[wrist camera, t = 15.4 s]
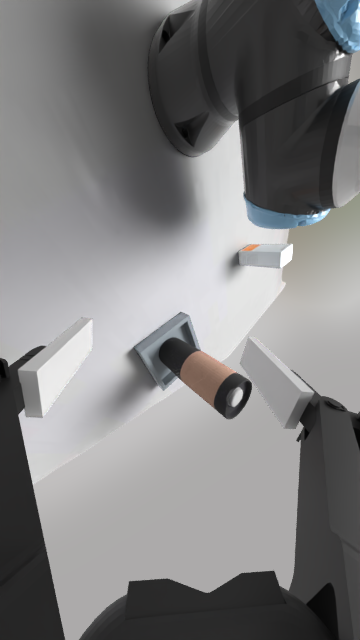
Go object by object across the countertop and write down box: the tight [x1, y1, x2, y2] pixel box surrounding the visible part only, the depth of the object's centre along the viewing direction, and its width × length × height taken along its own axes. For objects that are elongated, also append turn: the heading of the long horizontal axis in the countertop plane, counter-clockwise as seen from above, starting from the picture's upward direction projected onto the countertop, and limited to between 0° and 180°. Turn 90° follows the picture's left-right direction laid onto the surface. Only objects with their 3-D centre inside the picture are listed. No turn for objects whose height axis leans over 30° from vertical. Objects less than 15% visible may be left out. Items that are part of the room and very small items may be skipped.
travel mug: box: [159, 337, 252, 419], centre depth 38 cm, size 8×8×20 cm
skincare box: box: [238, 244, 293, 268], centre depth 49 cm, size 6×4×12 cm
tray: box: [134, 312, 200, 391], centre depth 44 cm, size 14×14×3 cm
